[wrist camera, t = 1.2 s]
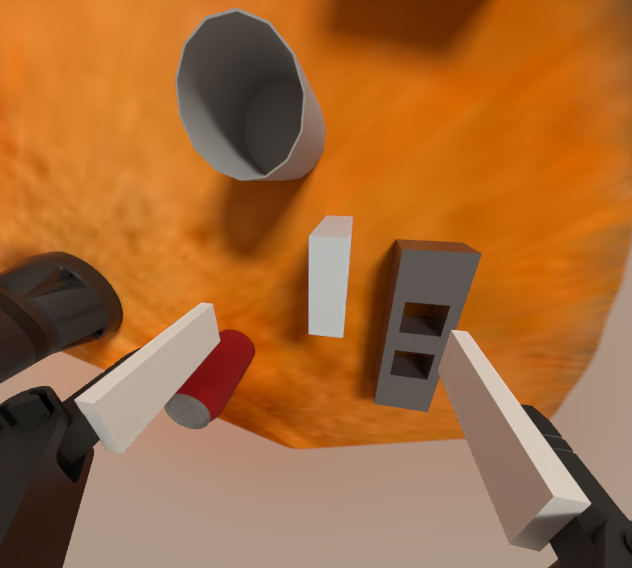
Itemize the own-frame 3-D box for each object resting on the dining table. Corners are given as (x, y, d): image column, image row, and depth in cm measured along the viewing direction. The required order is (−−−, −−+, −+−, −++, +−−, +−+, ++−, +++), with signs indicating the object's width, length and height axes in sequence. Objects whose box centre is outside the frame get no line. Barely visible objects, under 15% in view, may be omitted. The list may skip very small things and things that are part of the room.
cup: (298, 196, 25) (265, 205, 16) (234, 151, 24) (162, 134, 15) (342, 117, 21) (332, 71, 12) (269, 60, 20) (201, -33, 11)
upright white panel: (347, 286, 29) (342, 337, 19) (324, 284, 29) (308, 334, 20) (353, 216, 25) (351, 238, 15) (326, 215, 25) (308, 236, 16)
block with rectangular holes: (372, 380, 34) (374, 403, 31) (396, 239, 25) (402, 249, 22) (419, 387, 33) (427, 411, 30) (462, 242, 24) (481, 253, 21)
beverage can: (219, 355, 38) (164, 425, 27) (215, 322, 35) (152, 386, 24) (257, 363, 37) (217, 438, 26) (256, 330, 34) (211, 400, 23)
